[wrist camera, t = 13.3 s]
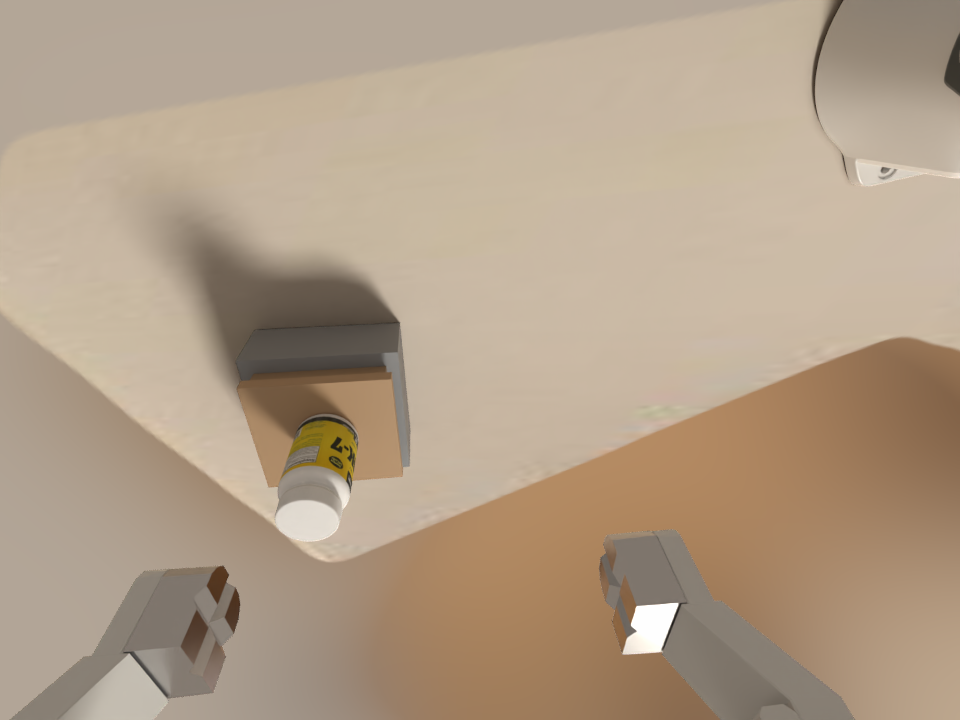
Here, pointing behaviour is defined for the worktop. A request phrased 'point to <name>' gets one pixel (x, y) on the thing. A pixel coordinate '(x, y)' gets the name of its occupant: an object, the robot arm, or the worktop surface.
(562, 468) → the worktop surface
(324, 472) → the supplement bottle
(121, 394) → the worktop surface
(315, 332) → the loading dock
